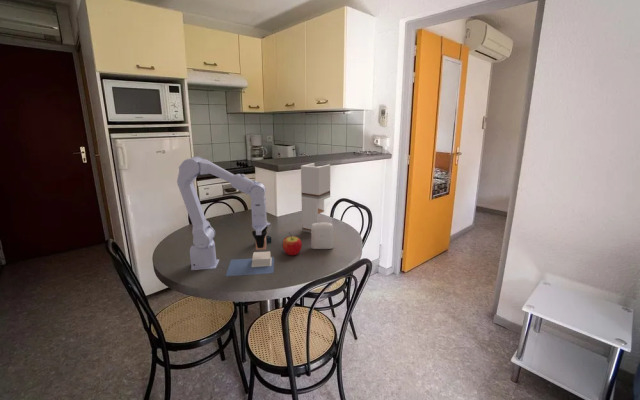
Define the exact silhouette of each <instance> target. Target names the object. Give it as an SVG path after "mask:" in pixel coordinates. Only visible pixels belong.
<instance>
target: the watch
mask: <svg viewBox="0 0 640 400" xmlns="http://www.w3.org/2000/svg"><path fill="white" fill-rule="evenodd" d="M267 223H270V226H267V229H266V231H267V233H266V245H267V244H271V243H272V236H270V235H271V232H272V230H273V226H272V223H271V222H270V221H268V220H267Z"/></svg>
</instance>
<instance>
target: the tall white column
mask: <svg viewBox="0 0 640 400" xmlns="http://www.w3.org/2000/svg"><path fill="white" fill-rule="evenodd" d="M300 186H301V187H300V188H301V190H300V193H301V230H302V231H301V232H306V233H309V234H311V227H312V224H314V223H318V222H319V214H321V213H324V212H325V199H326V200H327V199H328V198H331V164H326V165H321V166H315V162H313V163H312V162H311V163H308V164H303V165H300Z"/></svg>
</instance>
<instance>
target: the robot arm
mask: <svg viewBox="0 0 640 400" xmlns="http://www.w3.org/2000/svg"><path fill="white" fill-rule="evenodd" d="M178 170H179V171H178V176H177V180H176V183H177V186H178V189H179V192H180V194H181V197H182V200H183V203H184V206H185V208H186V211H187V213H188V216H189V218H190V221H191V224H192V231H191V234H192V237H193V238H192V244H193V245H191V246H190V249H189V260H190V267H191V269H190V270H191V271H197V270H215V269H216V268H217V266H218V264H219V262H220V259H218V258H217V254H216V243H215V240H214V238H215V236H216V230H215V229H214V228H213V227H212V226H211V224H210V222H209V220H207V219H206V216H205V213H204V210H203V208H202V204H201V202H200V199H199V196H198V193H197V190H196V188H195V185H194V182H195V181H196V179H197V177H198V176H199V175H208V174H210V175H212V176H215V177H217V178H219V179H221V180H224V181H226V182H228V183H230V185H231V187H232V188H234V189H235V190H238V191H240V192H242V193H244V194H246V195H248V196H249V197H250V202H251V203H250V205H251V206H250V208H251V210H250V211H251V222H252V223H251V227H252V229H253V230H252V232H251V234H252V236H253V238H254V239H255V240H256V242H255V244H256V243H257V247H258V248H263V246H264V239H265V236H266V233H267V230H268V227H269V226H270V223H271V222H270V223H268V222H267V221H268V220H267V202H266V196H265V195H266V193H267V192H266V187H265V185H264V184H263V183H262V182H260V181H257V180H253V179H251V178H250V177H249V178H248V177H247V176H246V174H244V173H236V174H235V173H232V172H230V171H228V170H226V169H224V168H222V167H221V166H219V165H217V164H215V163H214V162H212V161H210V160H209V159H206V158H203V157H201V156H199V155H195V156H193V157H191V158H186V159H184V160H183V161H182V162H181V164H180V165H179V167H178ZM255 240H254V241H255Z"/></svg>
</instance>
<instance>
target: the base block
mask: <svg viewBox="0 0 640 400" xmlns="http://www.w3.org/2000/svg"><path fill="white" fill-rule="evenodd" d="M271 254H272V253H271V250H270V251H254V252H253V254H252V258H251V259H252V265H253V266H267V265H270V261H271V257H272V255H271Z"/></svg>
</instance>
